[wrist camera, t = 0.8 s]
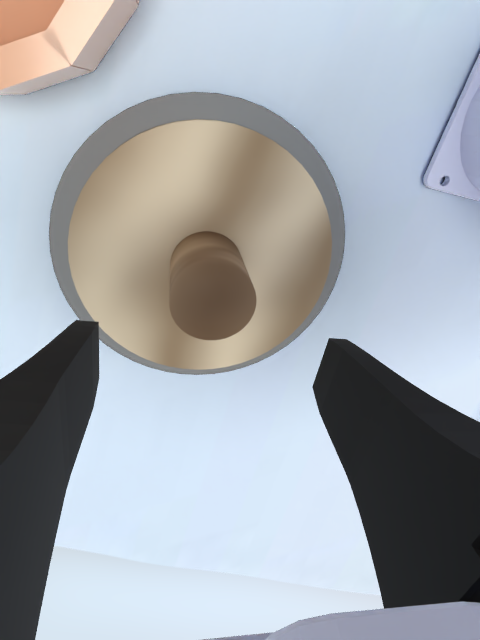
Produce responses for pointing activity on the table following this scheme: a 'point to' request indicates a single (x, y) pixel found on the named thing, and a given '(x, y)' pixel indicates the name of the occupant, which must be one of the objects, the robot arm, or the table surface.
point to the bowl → (56, 40)
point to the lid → (199, 244)
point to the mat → (167, 112)
